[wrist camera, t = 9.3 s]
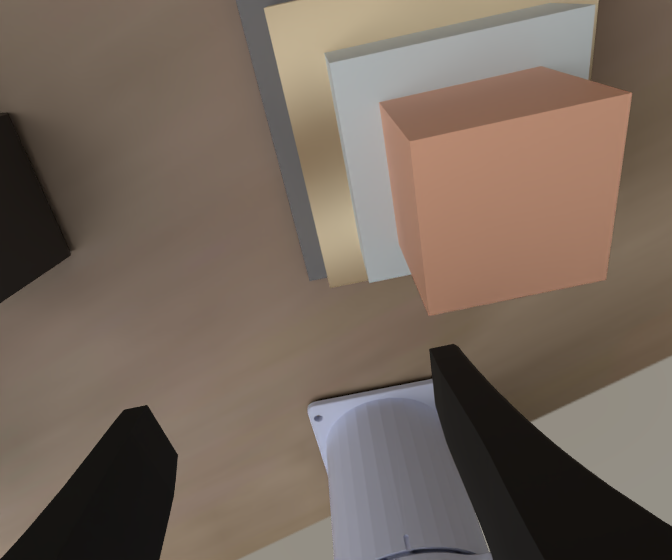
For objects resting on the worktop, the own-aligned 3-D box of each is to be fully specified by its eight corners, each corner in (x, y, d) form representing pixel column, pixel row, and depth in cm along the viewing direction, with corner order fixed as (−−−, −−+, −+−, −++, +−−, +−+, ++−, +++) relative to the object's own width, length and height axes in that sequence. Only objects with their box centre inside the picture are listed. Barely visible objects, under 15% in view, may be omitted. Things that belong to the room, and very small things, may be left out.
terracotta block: (535, 215, 15) (606, 279, 12) (398, 243, 15) (428, 316, 12) (540, 66, 13) (632, 92, 9) (378, 102, 13) (409, 141, 9)
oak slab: (546, 213, 21) (575, 238, 18) (326, 258, 21) (330, 288, 19) (562, -61, 15) (605, -70, 13) (268, 6, 16) (263, 8, 14)
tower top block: (539, 211, 18) (572, 241, 16) (360, 248, 18) (369, 282, 16) (550, 2, 14) (595, 4, 12) (324, 52, 14) (329, 62, 12)
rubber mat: (561, 223, 22) (567, 228, 21) (309, 275, 22) (309, 281, 22) (587, -104, 15) (595, -106, 15) (231, -22, 16) (229, -22, 15)
